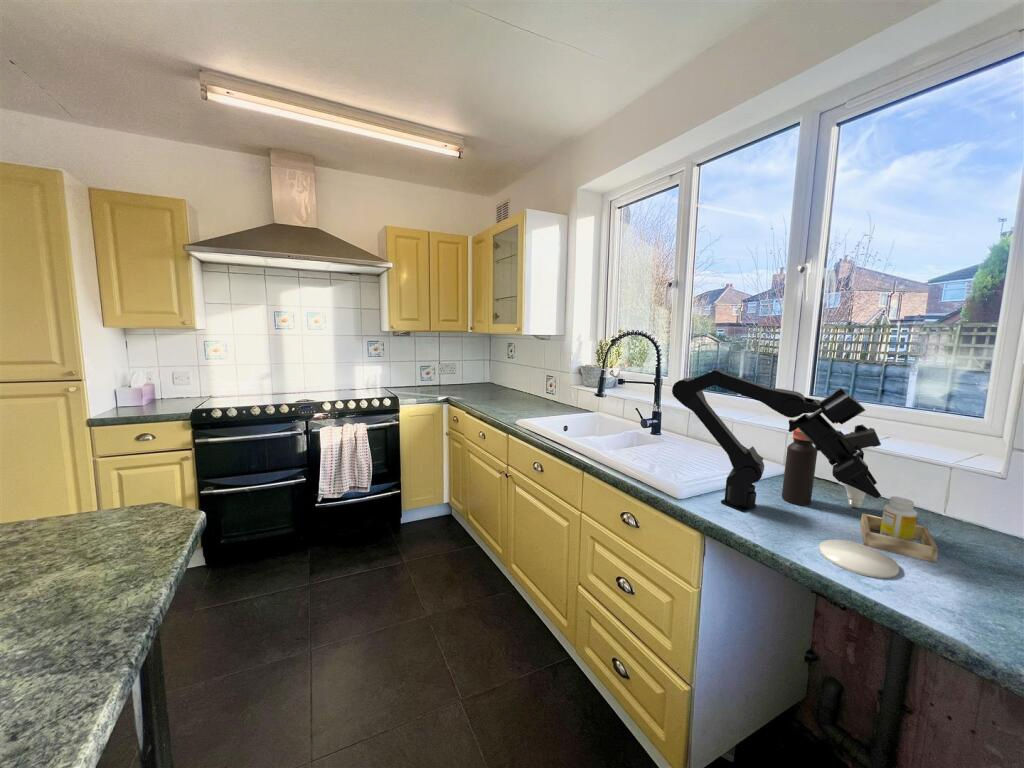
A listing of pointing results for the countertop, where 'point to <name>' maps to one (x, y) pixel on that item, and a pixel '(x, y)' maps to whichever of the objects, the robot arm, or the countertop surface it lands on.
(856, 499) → the light bulb
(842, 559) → the plate
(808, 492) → the vinegar
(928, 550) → the bin frame
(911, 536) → the supplement bottle
